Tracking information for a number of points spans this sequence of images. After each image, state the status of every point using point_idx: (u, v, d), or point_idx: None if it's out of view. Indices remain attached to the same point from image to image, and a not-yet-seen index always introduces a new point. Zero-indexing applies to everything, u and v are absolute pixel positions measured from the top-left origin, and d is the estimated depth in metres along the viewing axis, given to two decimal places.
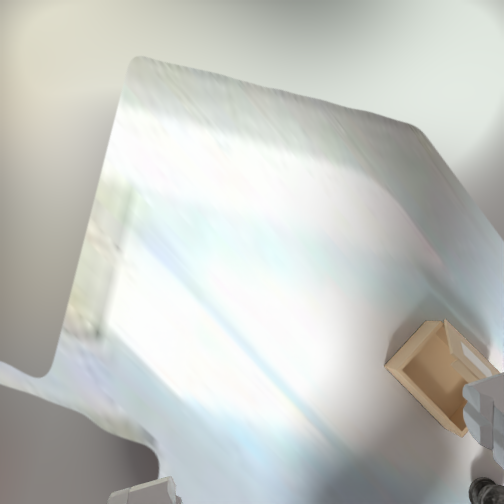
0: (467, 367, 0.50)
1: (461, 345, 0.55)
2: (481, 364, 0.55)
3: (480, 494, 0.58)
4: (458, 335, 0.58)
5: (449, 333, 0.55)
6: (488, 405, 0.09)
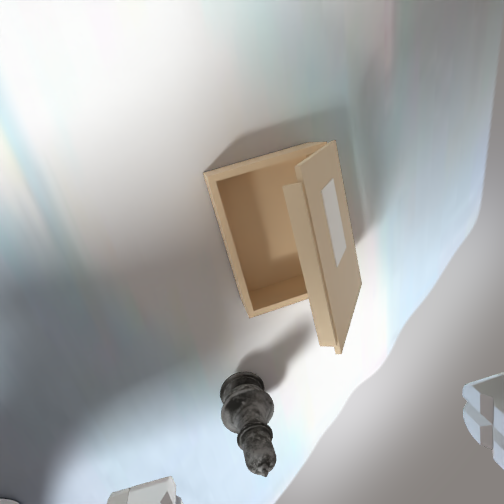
0: (308, 206, 0.24)
1: (328, 182, 0.28)
2: (339, 229, 0.30)
3: (233, 390, 0.41)
4: (336, 172, 0.31)
5: (323, 151, 0.28)
6: (488, 405, 0.09)
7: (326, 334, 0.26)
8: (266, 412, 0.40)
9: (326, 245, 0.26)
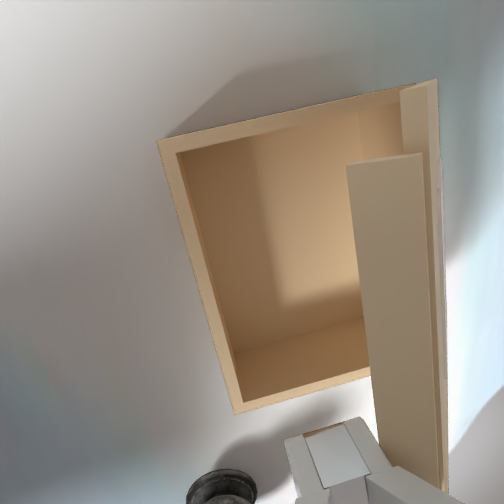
0: (430, 241, 0.07)
1: (439, 166, 0.11)
2: None
3: None
4: None
5: None
6: None
7: None
8: None
9: None
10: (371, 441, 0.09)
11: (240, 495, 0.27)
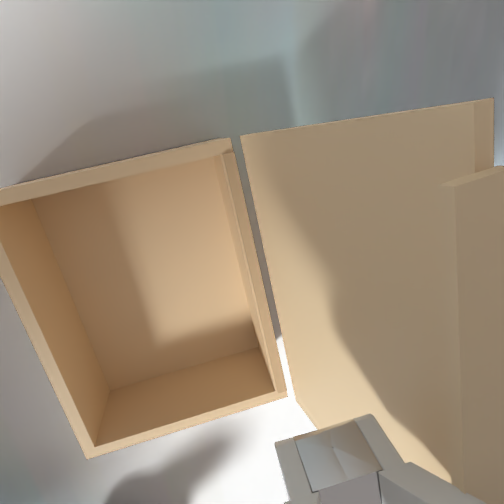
0: None
1: None
2: None
3: None
4: None
5: None
6: None
7: None
8: None
9: None
10: (383, 437, 0.09)
11: None
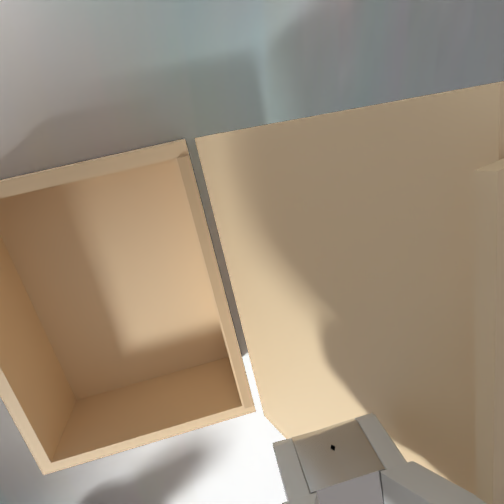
0: None
1: None
2: None
3: None
4: None
5: None
6: None
7: None
8: None
9: None
10: (384, 437, 0.09)
11: None
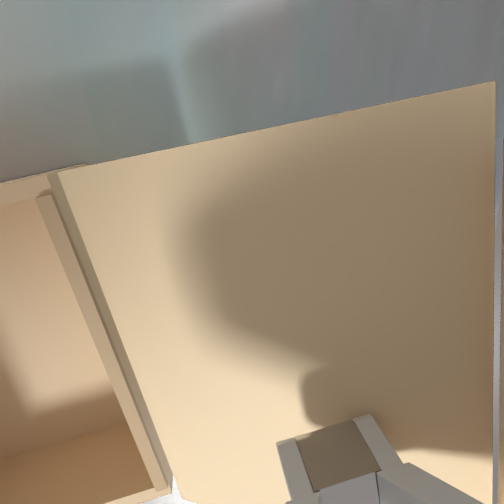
0: None
1: None
2: None
3: None
4: None
5: None
6: None
7: None
8: None
9: None
10: (381, 438, 0.09)
11: None
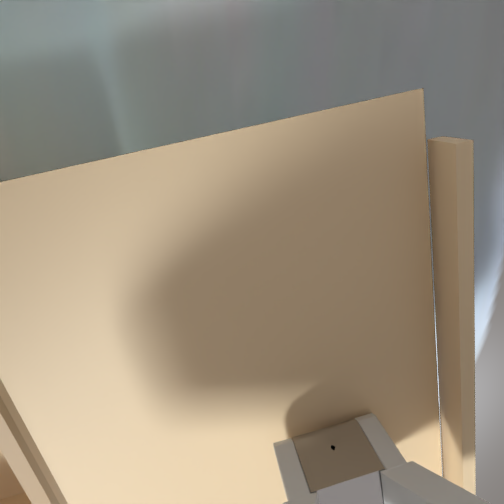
0: None
1: None
2: None
3: None
4: None
5: None
6: None
7: None
8: None
9: None
10: (384, 437, 0.09)
11: None
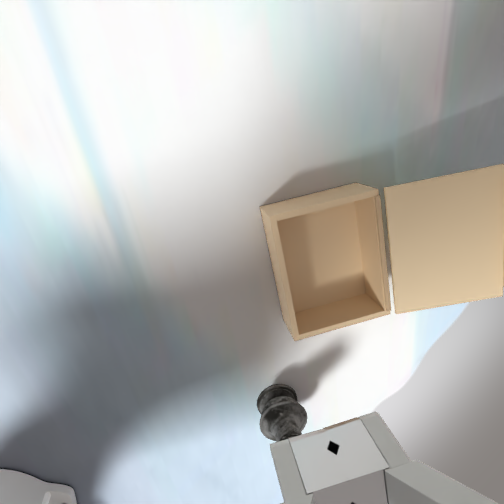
0: None
1: None
2: None
3: (271, 401, 0.45)
4: None
5: None
6: (337, 452, 0.09)
7: None
8: (300, 423, 0.44)
9: None
10: (388, 436, 0.09)
11: None
